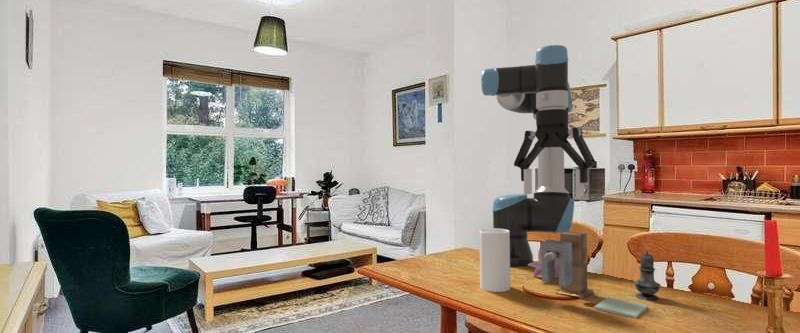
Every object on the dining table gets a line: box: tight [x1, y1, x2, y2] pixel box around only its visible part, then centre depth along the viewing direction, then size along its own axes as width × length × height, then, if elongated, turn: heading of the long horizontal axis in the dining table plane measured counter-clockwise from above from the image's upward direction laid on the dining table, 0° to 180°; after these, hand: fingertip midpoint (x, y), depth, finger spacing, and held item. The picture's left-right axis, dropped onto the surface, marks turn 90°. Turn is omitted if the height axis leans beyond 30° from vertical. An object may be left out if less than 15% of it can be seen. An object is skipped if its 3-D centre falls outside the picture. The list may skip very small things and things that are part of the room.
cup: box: [479, 227, 511, 293], centre depth 119 cm, size 8×8×16 cm
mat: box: [593, 296, 649, 319], centre depth 101 cm, size 9×9×1 cm
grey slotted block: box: [540, 239, 572, 287], centre depth 106 cm, size 4×6×10 cm, turn 45°
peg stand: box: [544, 230, 594, 300], centre depth 109 cm, size 19×7×16 cm, turn 135°
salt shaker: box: [633, 250, 662, 302], centre depth 109 cm, size 6×6×12 cm
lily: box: [527, 248, 559, 283], centre depth 125 cm, size 12×12×10 cm
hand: (552, 195), depth 106 cm, fingers open, 13 cm apart
